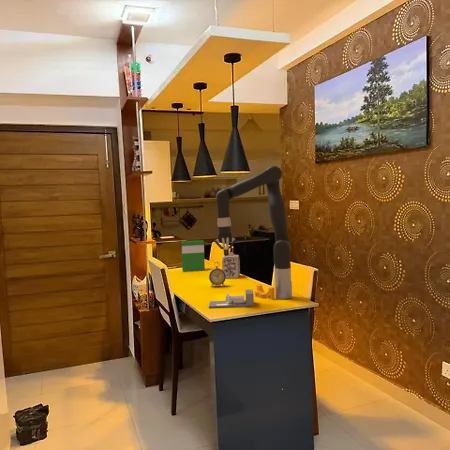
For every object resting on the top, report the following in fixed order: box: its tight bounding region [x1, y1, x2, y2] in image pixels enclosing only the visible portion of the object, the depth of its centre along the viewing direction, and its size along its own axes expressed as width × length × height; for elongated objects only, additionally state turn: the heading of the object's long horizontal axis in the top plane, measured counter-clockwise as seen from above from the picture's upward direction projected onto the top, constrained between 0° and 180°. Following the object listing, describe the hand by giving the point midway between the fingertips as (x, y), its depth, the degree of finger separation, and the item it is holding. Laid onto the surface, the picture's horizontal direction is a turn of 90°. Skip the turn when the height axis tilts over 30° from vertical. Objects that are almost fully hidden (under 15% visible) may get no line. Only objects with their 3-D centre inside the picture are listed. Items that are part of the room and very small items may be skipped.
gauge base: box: [208, 288, 255, 309], centre depth 227 cm, size 24×11×7 cm, turn 89°
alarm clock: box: [208, 261, 227, 288], centre depth 276 cm, size 11×5×16 cm, turn 88°
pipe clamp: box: [254, 284, 276, 300], centre depth 241 cm, size 12×4×6 cm, turn 38°
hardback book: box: [180, 239, 206, 273], centre depth 339 cm, size 18×7×24 cm, turn 100°
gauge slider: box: [225, 293, 245, 304], centre depth 226 cm, size 10×8×4 cm
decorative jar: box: [221, 252, 241, 279], centre depth 307 cm, size 12×12×18 cm
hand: (226, 256), depth 236 cm, fingers closed
